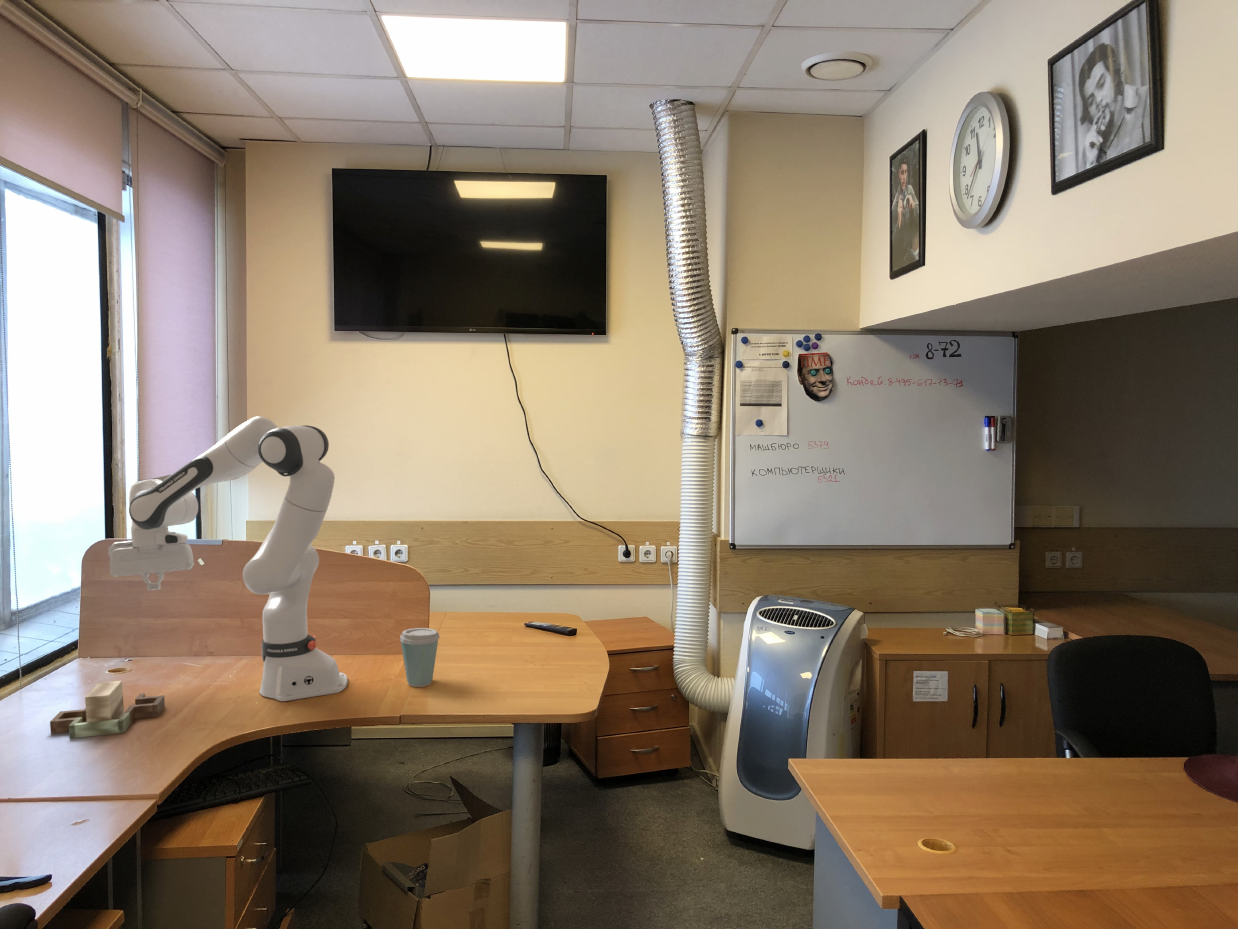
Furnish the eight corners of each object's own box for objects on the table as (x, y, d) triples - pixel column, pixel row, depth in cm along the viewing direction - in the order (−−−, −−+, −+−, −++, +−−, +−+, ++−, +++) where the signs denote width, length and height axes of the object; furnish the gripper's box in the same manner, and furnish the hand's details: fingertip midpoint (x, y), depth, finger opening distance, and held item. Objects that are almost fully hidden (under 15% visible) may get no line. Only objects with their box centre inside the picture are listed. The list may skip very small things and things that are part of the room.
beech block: (124, 715, 211) (121, 680, 210) (111, 731, 202) (108, 695, 201) (101, 717, 210) (99, 682, 209) (87, 733, 200) (85, 697, 199)
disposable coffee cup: (411, 675, 239) (409, 623, 237) (447, 677, 237) (445, 625, 235) (394, 688, 228) (392, 634, 227) (431, 691, 226) (429, 637, 225)
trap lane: (167, 702, 219) (167, 691, 219) (148, 730, 202) (147, 718, 202) (72, 711, 214) (72, 699, 213) (44, 740, 196) (43, 728, 196)
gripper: (103, 543, 224) (107, 595, 224) (188, 536, 230) (192, 586, 230) (111, 542, 230) (115, 592, 230) (193, 535, 236) (197, 584, 236)
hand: (154, 589), depth 230 cm, fingers closed
